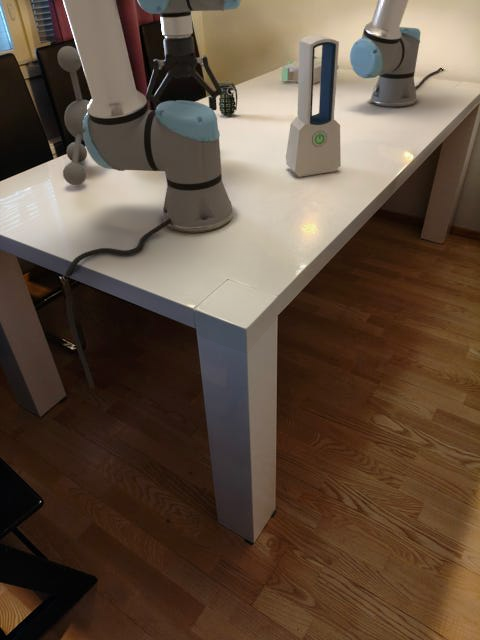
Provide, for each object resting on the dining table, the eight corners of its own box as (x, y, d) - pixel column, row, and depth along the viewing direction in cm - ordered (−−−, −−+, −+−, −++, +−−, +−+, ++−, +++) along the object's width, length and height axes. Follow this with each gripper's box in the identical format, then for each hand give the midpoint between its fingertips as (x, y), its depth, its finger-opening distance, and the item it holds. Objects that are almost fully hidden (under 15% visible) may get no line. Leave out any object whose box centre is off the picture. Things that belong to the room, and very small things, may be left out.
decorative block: (304, 54, 217) (345, 57, 207) (303, 70, 221) (343, 73, 211) (272, 65, 201) (315, 69, 191) (272, 82, 205) (314, 86, 195)
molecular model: (153, 175, 128) (132, 46, 109) (67, 191, 122) (30, 58, 104) (135, 149, 145) (114, 34, 127) (59, 162, 140) (26, 43, 121)
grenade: (217, 117, 168) (214, 86, 162) (221, 112, 172) (219, 82, 166) (235, 117, 166) (233, 86, 160) (239, 113, 171) (238, 82, 165)
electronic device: (294, 177, 122) (297, 41, 104) (284, 167, 128) (285, 37, 109) (340, 170, 124) (351, 36, 106) (328, 161, 130) (337, 32, 112)
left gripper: (226, 30, 125) (231, 117, 137) (128, 37, 123) (142, 124, 136) (229, 34, 119) (233, 125, 131) (126, 41, 117) (141, 132, 130)
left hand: (187, 125), depth 133 cm, fingers open, 13 cm apart
